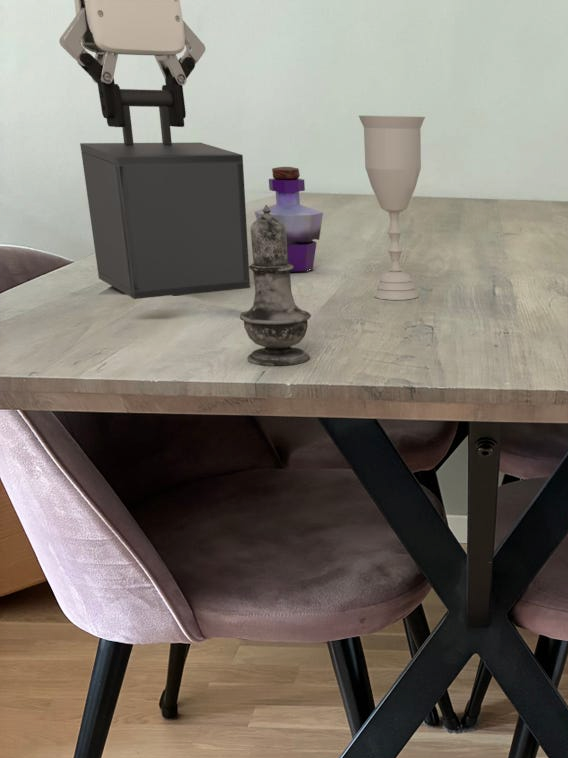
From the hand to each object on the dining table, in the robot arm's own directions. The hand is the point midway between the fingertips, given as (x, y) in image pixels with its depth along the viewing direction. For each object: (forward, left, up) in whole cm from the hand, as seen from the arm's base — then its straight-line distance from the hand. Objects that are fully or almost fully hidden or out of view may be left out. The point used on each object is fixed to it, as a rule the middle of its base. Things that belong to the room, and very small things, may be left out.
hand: (146, 124), depth 104 cm
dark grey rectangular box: (0, -8, -7) cm, 11 cm away
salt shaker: (-8, -40, -17) cm, 44 cm away
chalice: (+18, -21, -17) cm, 32 cm away
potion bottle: (+18, +2, -17) cm, 25 cm away
